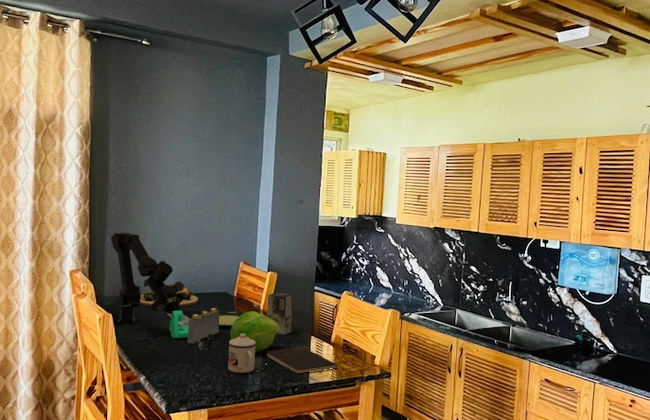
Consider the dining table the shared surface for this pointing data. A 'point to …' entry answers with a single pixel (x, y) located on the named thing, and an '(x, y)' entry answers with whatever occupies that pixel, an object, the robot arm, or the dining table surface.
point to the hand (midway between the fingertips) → (181, 317)
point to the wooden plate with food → (189, 300)
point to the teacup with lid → (241, 354)
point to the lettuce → (255, 329)
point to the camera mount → (177, 326)
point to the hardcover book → (300, 360)
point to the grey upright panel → (203, 325)
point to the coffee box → (280, 311)
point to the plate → (228, 318)
